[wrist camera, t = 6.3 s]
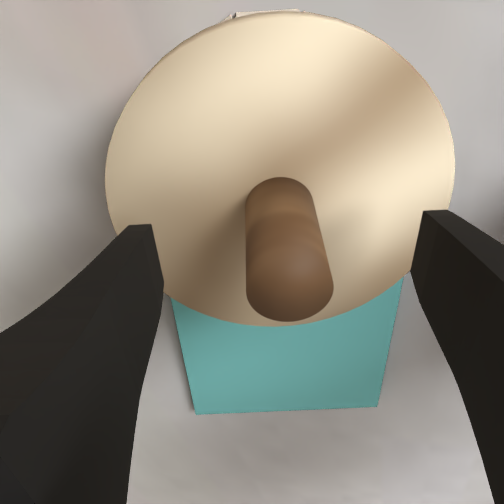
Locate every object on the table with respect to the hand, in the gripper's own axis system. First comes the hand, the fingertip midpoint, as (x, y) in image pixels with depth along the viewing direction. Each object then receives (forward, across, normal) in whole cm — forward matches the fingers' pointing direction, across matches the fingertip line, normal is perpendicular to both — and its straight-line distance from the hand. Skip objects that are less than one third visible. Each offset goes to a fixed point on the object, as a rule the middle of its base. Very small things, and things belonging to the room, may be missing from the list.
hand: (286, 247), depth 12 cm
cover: (+4, 0, 0) cm, 4 cm away
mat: (+8, 0, +13) cm, 15 cm away
